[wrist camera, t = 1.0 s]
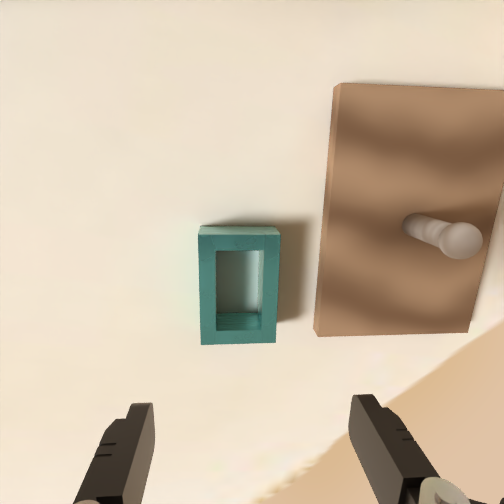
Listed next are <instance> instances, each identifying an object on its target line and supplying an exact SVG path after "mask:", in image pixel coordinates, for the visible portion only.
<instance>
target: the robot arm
mask: <svg viewBox="0 0 504 504" xmlns="http://www.w3.org/2000/svg"><path fill="white" fill-rule="evenodd" d="M348 428H349V436H350V440H351V442H352V445H353V447H354V449H355V452H356V454H357V456H358V458H359V460H360V463H361V465H362V467H363V469H364V471H365V474H366V476H367V478H368V480H369V483H370V485H371V487H372V489H373V491H374V494H375V496H376V498H377V500H378V502H379V504H486V503H482V502H478V501H474V500H471V499H468V498H467V497H466V495H465V494H464V493H463V492H462V491H461V490H460V489H459V488H458V487H457V486H455V485H454V484H452V483H451V482H449V481H447V480H445V479H442V478H440V476H439V475H438V473H437V472H436V470H435V469H434V467H433V466H432V465H431V463H430V462H429V460H428V459H427V457H426V456H425V454H424V453H423V451H422V450H421V448H420V447H419V445H418V444H417V442H416V441H414V438H413V437H412V435H411V434H410V432H409V431H407V428H406V426H405V425H404V423H403V422H402V421H401V419H400V418H399V417H398V416H397V415H396V414H395V413H393V412H392V411H391V410H390V409H389V408H387V407H386V408H382V407H381V406H380V404H379V403H378V401H377V399H376V398H375V396H374V395H372V394H363V395H353V397H352V402H351V410H350V417H349V425H348ZM154 445H155V427H154V414H153V404H152V403H133V404H131V406H130V409H129V411H128V414H127V416H126V419H115V421H114V422H113V423H112V424H111V425H110V426H109V427H108V428H107V429H106V430H105V432H104V434H103V437H102V439H101V441H100V444H99V446H98V448H97V450H96V453H95V456H94V458H93V460H92V462H91V464H90V466H89V469H88V471H87V473H86V475H85V478H84V480H83V482H82V485H81V487H80V489H79V491H78V494H77V496H76V498H75V500H74V502H73V504H141V502H142V498H143V493H144V489H145V485H146V481H147V477H148V473H149V469H150V464H151V460H152V456H153V452H154ZM500 504H504V498H502V500H501V501H500Z"/></svg>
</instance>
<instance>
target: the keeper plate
mask: <svg viewBox="0 0 504 504" xmlns="http://www.w3.org/2000/svg"><path fill="white" fill-rule="evenodd" d="M503 183H504V90H485V89H464V88H442V87H420V86H399V85H377V84H356V83H340V84H338V85H337V86H335V87H334V91H333V102H332V114H331V126H330V137H329V149H328V161H327V173H326V184H325V196H324V208H323V219H322V231H321V243H320V254H319V266H318V278H317V290H316V301H315V313H314V325H313V329H314V331H315V332H316V334H317V336H318V337H332V336H367V335H402V334H437V333H468V329H469V325H470V321H471V317H472V313H473V308H474V304H475V300H476V296H477V292H478V288H479V283H480V279H481V275H482V271H483V267H484V263H485V258H486V254H487V250H488V246H489V242H490V237H491V233H492V229H493V225H494V221H495V217H496V212H497V208H498V204H499V200H500V196H501V191H502V187H503Z"/></svg>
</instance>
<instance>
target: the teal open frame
mask: <svg viewBox="0 0 504 504" xmlns="http://www.w3.org/2000/svg"><path fill="white" fill-rule="evenodd" d="M280 241H281V234H280V233H279V232H278V230H277V229H276V228H275V226H201V227H200V230H199V233H198V253H199V292H200V330H201V345H214V344H248V343H276V323H277V302H278V282H279V261H280ZM238 250H259V275H258V308H257V313H217V302H216V251H238Z"/></svg>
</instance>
